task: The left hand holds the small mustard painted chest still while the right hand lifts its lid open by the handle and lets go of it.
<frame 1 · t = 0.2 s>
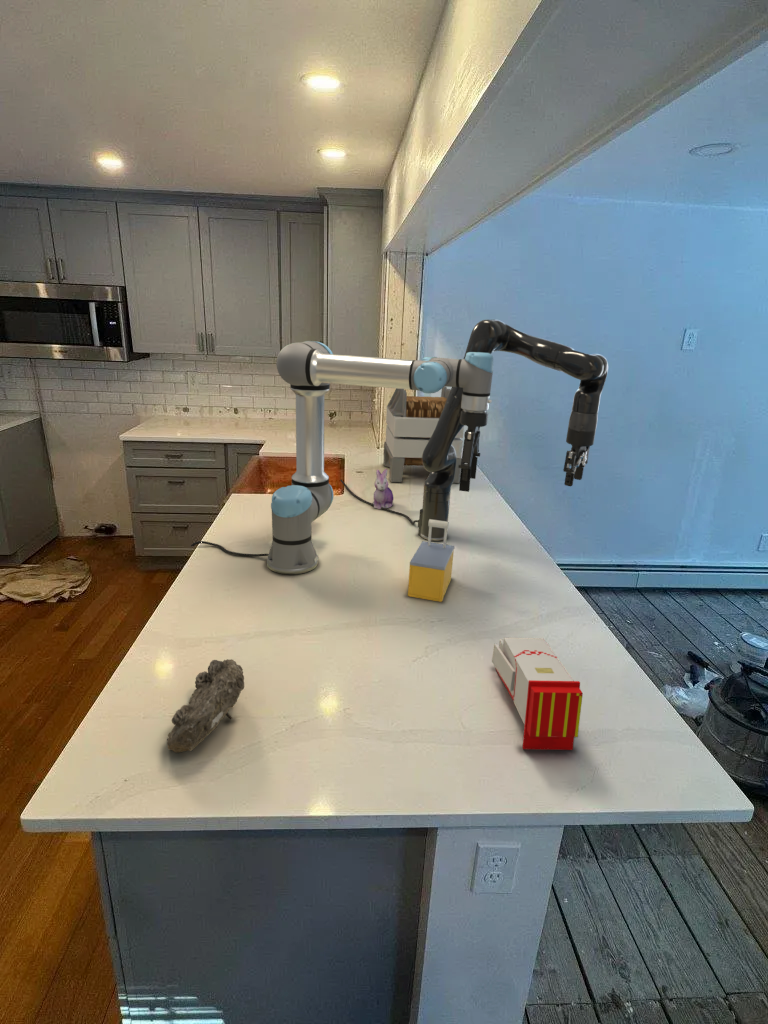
left hand: (467, 484, 163), 28 cm above the counter, tool pointing down, fingers open, 13 cm apart
right hand: (573, 482, 165), 29 cm above the counter, tool pointing down, fingers open, 8 cm apart
fossil: (212, 717, 108), on the counter
lid: (433, 541, 158), point 14 cm above the counter, hinge at 0.0°
toy: (527, 701, 116), on the counter
grey slatted crate: (419, 473, 275), on the counter
chest: (430, 587, 162), on the counter
figurine: (382, 506, 227), on the counter
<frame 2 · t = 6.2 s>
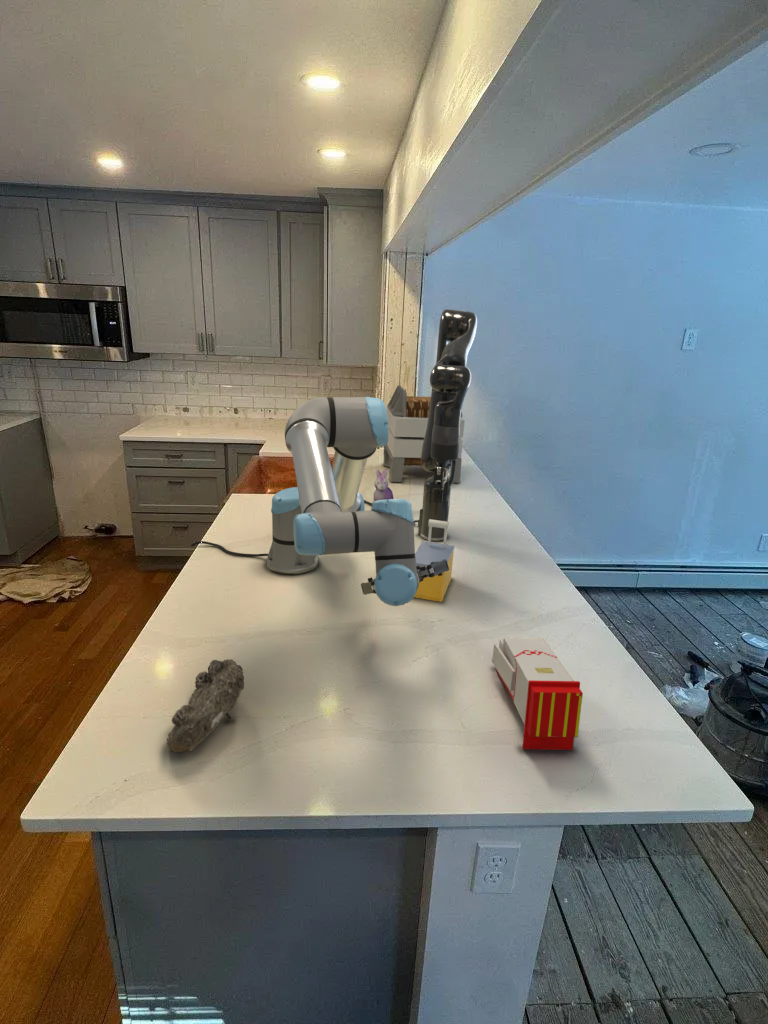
left hand: (406, 575, 136), 15 cm above the counter, tool tilted 65°, fingers open, 13 cm apart
right hand: (440, 497, 159), 25 cm above the counter, tool pointing down, fingers open, 8 cm apart
nothing on the counter moved.
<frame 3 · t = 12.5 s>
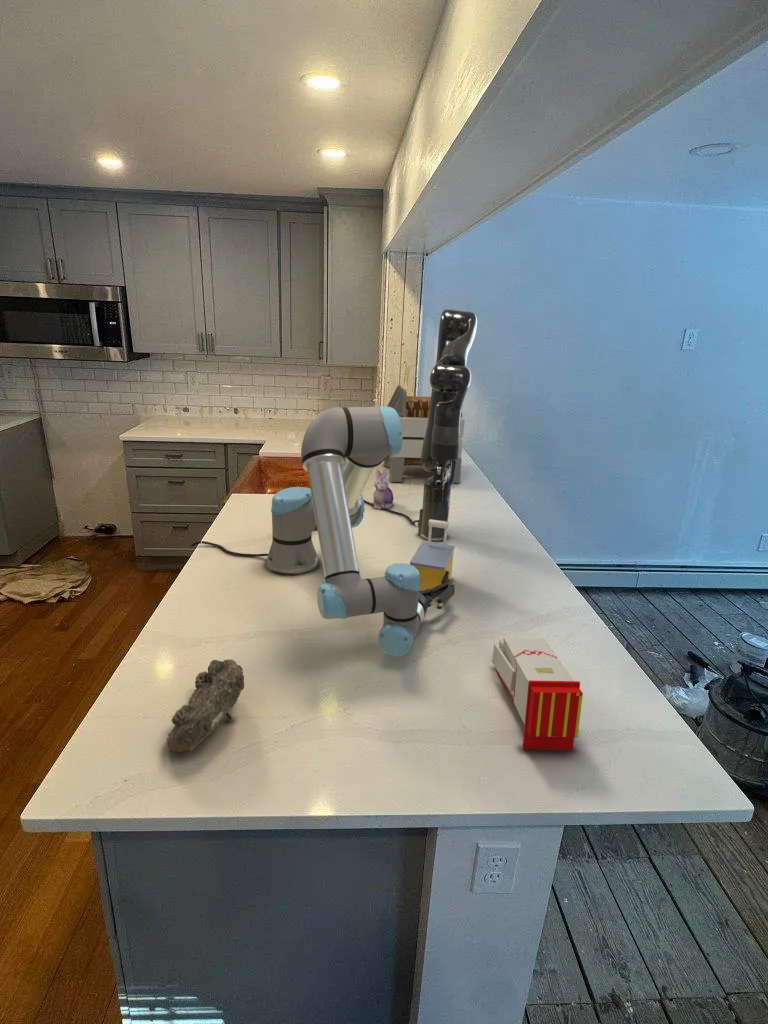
left hand: (428, 572, 156), 7 cm above the counter, tool horizontal, fingers closed on chest, 10 cm apart
right hand: (440, 497, 159), 25 cm above the counter, tool pointing down, fingers open, 8 cm apart
chest: (430, 587, 162), on the counter, touching left hand
everything else where it was.
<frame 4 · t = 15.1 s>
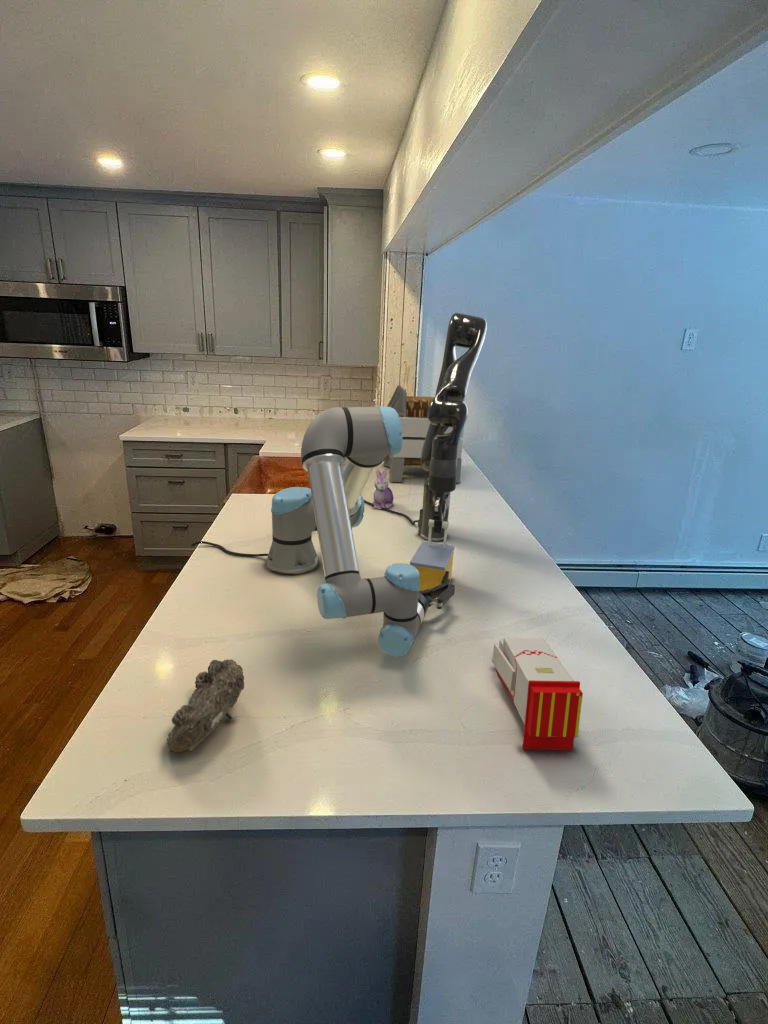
left hand: (428, 572, 156), 7 cm above the counter, tool horizontal, fingers closed on chest, 10 cm apart
right hand: (438, 530, 162), 15 cm above the counter, tool pointing down, fingers closed on lid, 2 cm apart
lid: (434, 541, 158), point 14 cm above the counter, hinge at -0.1°, touching right hand
chest: (430, 587, 162), on the counter, touching left hand
everything else where it was.
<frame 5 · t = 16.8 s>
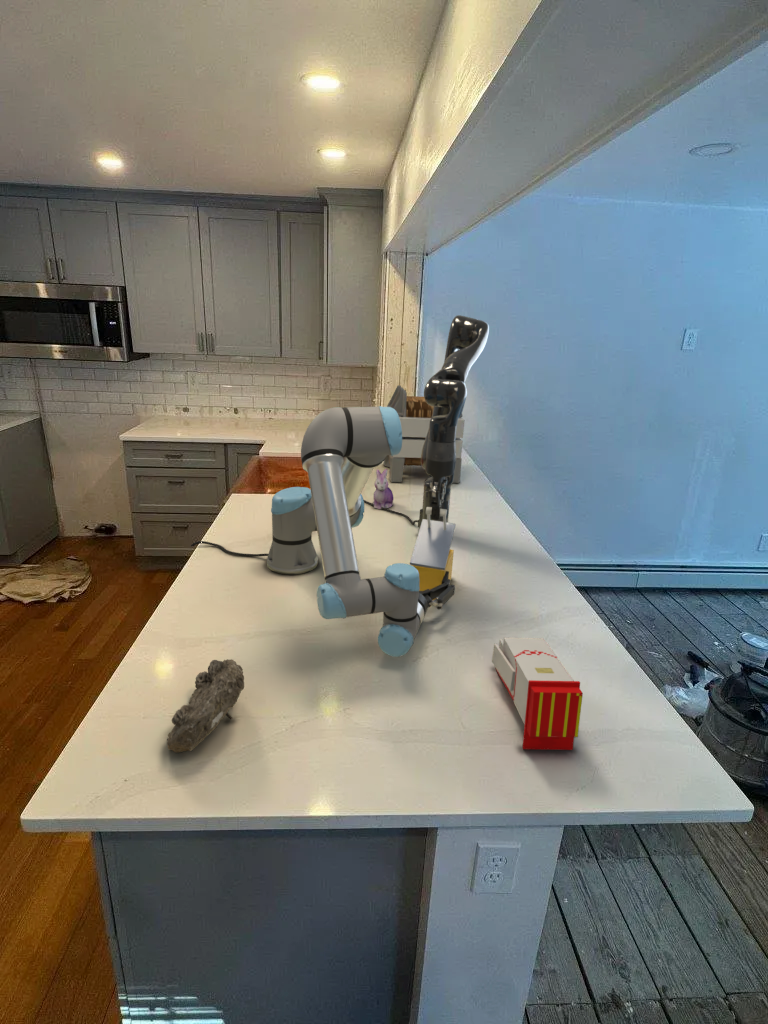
left hand: (428, 572, 156), 7 cm above the counter, tool horizontal, fingers closed on chest, 10 cm apart
right hand: (436, 516, 155), 21 cm above the counter, tool pointing down, fingers closed on lid, 2 cm apart
lid: (432, 534, 154), point 17 cm above the counter, hinge at 29.9°, touching right hand
chest: (430, 587, 162), on the counter, touching left hand
everything else where it was.
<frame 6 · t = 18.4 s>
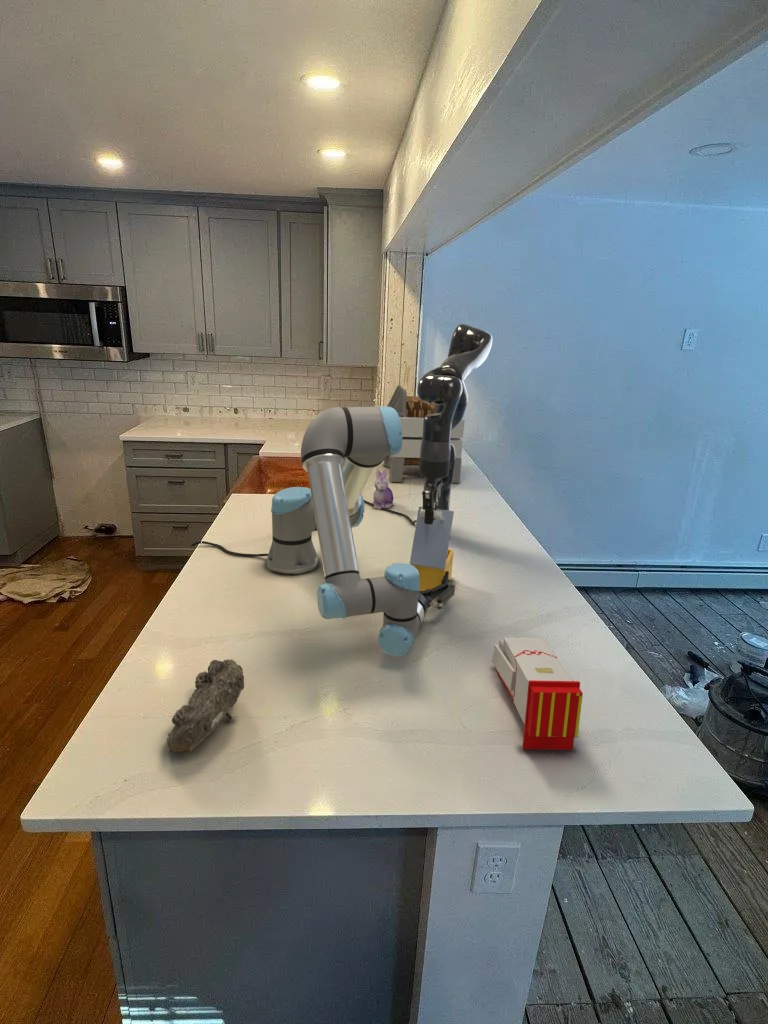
left hand: (428, 572, 156), 7 cm above the counter, tool horizontal, fingers closed on chest, 10 cm apart
right hand: (430, 521, 147), 23 cm above the counter, tool pointing down, fingers open, 3 cm apart
lid: (429, 535, 149), point 19 cm above the counter, hinge at 61.2°
chest: (430, 587, 162), on the counter, touching left hand
everything else where it was.
when the left hand's fingers open (7 cm above the counter, at t = 23.0 s): chest stays where it is, on the counter.
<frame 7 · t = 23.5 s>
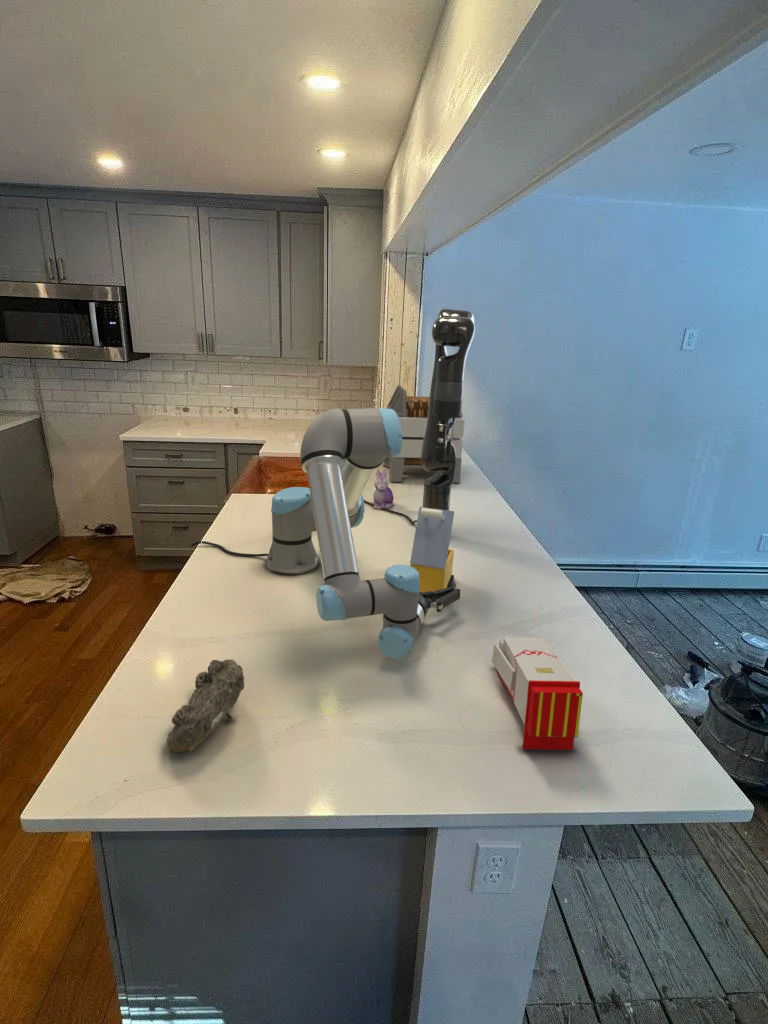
left hand: (427, 575, 154), 7 cm above the counter, tool horizontal, fingers open, 13 cm apart
right hand: (443, 458, 154), 37 cm above the counter, tool pointing down, fingers open, 8 cm apart
lid: (430, 535, 150), point 19 cm above the counter, hinge at 59.6°
chest: (430, 587, 163), on the counter
everything else where it was.
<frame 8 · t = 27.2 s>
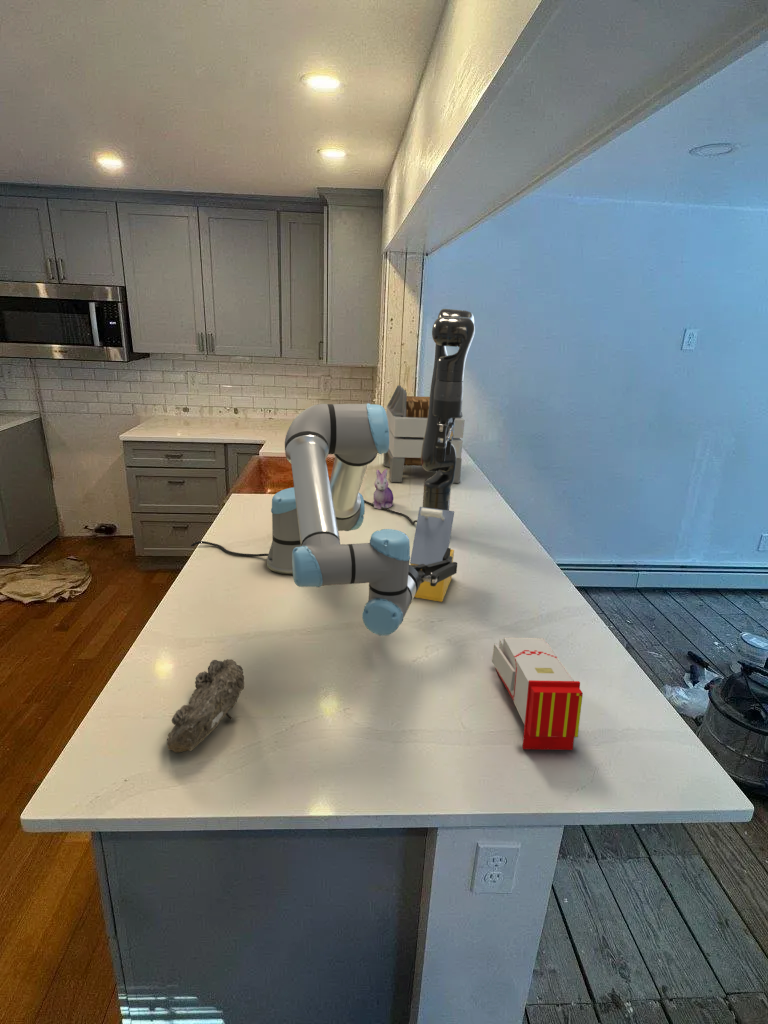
left hand: (421, 548, 140), 19 cm above the counter, tool horizontal, fingers open, 13 cm apart
right hand: (443, 458, 154), 37 cm above the counter, tool pointing down, fingers open, 8 cm apart
nothing on the counter moved.
at the end: lid at +60° (first picture: +0°); the left hand is holding nothing; the right hand is holding nothing; chest tilted 0°; chest never tilted more than 1° during the clip; chest moved 0.1 cm from its start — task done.
